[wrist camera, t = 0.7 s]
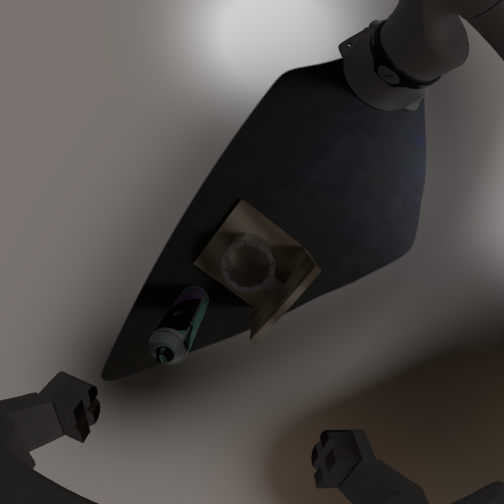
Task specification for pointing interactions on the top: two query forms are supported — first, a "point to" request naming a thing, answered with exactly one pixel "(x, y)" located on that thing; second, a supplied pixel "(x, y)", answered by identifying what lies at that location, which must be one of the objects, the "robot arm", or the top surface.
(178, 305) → the spray can
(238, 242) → the ring
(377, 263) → the top surface
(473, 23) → the robot arm
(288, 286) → the brown l-shaped piece
